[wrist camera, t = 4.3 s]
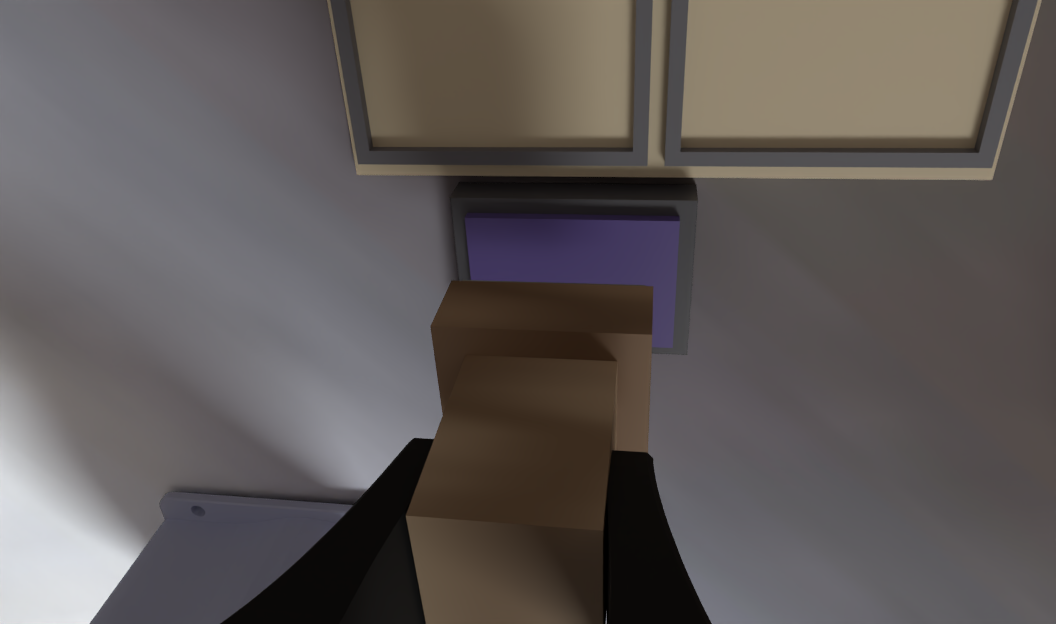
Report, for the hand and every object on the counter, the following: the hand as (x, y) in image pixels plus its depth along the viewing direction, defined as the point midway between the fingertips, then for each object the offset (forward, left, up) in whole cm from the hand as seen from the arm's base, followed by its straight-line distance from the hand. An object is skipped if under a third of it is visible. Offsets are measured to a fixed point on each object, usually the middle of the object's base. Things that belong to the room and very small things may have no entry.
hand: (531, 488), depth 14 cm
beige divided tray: (+2, +6, -9) cm, 11 cm away
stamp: (0, 0, -4) cm, 4 cm away
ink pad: (0, 0, -9) cm, 9 cm away
